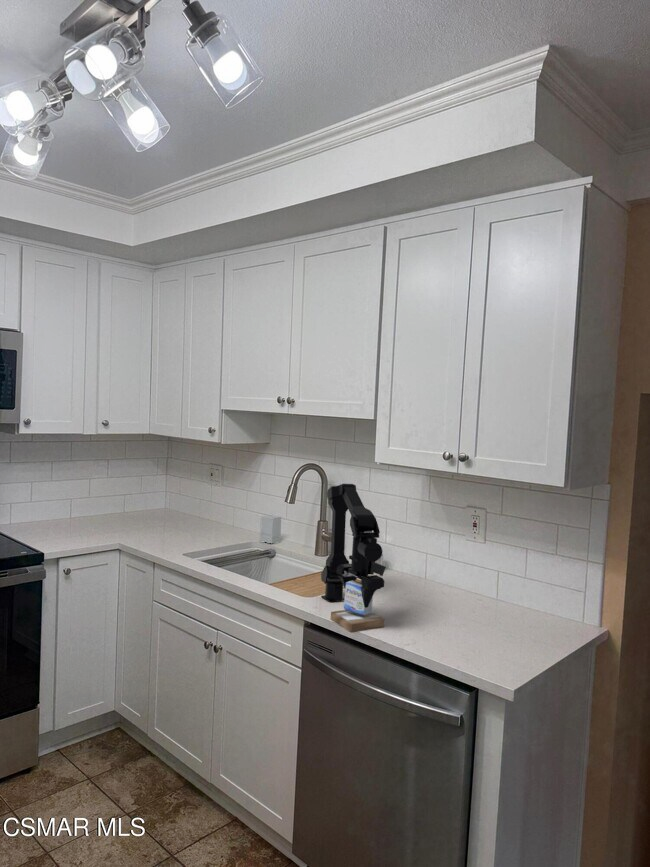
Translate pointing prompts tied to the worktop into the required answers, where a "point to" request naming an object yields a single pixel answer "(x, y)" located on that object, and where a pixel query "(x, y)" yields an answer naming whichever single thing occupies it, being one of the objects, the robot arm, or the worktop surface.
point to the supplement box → (270, 529)
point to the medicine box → (355, 599)
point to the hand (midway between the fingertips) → (358, 602)
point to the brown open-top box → (357, 620)
